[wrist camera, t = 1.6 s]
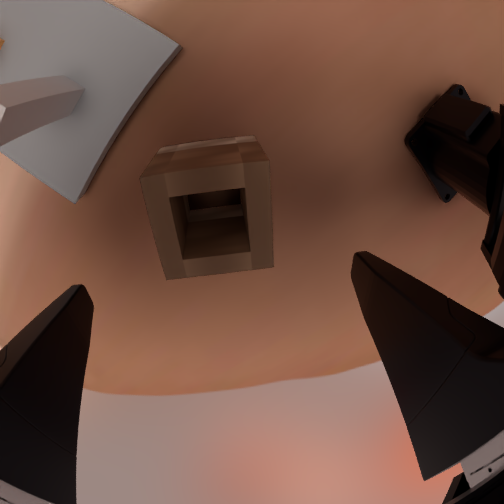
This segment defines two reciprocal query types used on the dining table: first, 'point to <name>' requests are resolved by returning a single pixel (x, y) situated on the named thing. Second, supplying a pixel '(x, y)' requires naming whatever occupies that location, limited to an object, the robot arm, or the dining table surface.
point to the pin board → (71, 84)
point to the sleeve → (210, 219)
